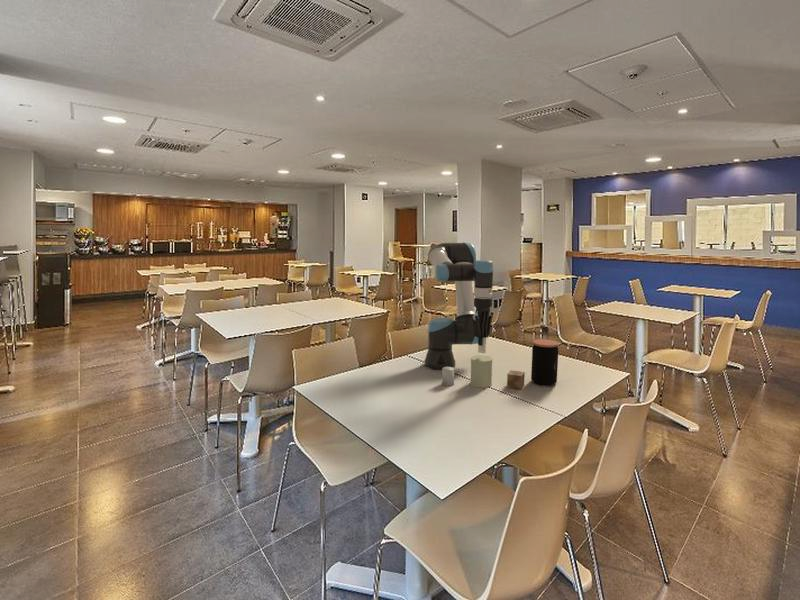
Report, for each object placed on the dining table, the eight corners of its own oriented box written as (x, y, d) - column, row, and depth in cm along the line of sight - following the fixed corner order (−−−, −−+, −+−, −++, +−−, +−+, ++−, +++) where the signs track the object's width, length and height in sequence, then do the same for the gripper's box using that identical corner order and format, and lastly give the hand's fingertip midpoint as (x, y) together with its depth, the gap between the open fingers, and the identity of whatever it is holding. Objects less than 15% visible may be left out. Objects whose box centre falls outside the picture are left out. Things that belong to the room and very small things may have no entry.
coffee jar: (558, 387, 181) (560, 345, 178) (532, 385, 183) (533, 344, 181) (554, 379, 191) (556, 339, 189) (529, 377, 194) (531, 338, 191)
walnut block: (506, 387, 181) (507, 374, 180) (509, 383, 187) (510, 370, 186) (521, 390, 179) (522, 376, 178) (524, 385, 184) (524, 372, 183)
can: (465, 384, 185) (466, 357, 184) (477, 379, 192) (478, 353, 190) (484, 389, 179) (485, 361, 177) (495, 383, 186) (496, 357, 184)
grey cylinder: (439, 384, 186) (440, 368, 185) (447, 381, 189) (447, 366, 188) (448, 387, 182) (449, 371, 181) (456, 384, 186) (456, 368, 185)
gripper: (481, 300, 173) (480, 357, 176) (499, 296, 182) (498, 351, 185) (466, 298, 178) (465, 353, 181) (484, 295, 187) (483, 348, 190)
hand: (481, 352), depth 183 cm, fingers closed
